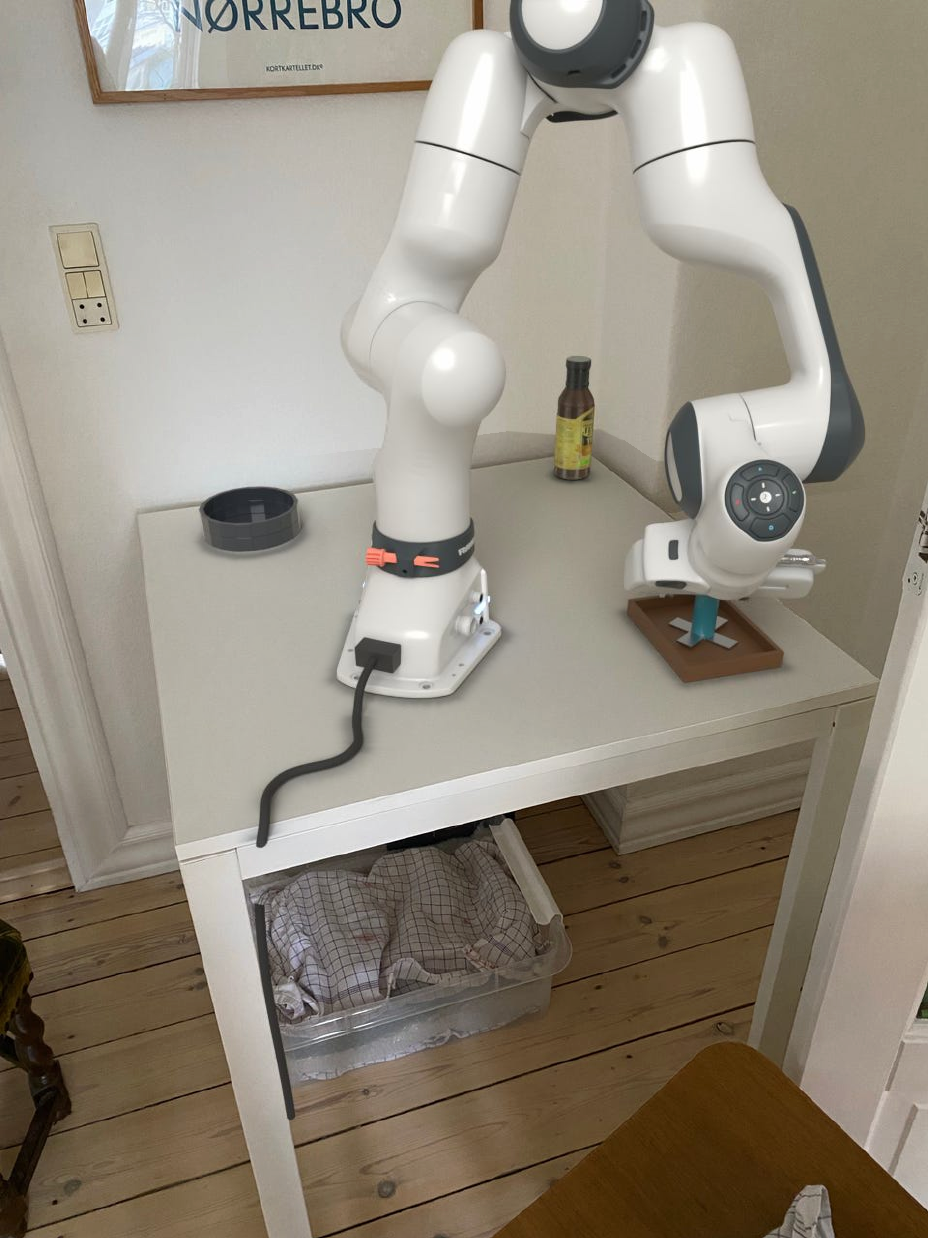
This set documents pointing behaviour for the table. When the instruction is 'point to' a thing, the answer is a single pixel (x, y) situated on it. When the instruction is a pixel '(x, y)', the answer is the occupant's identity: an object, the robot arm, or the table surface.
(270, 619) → the table surface
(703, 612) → the teal rod with crossbar
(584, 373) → the sauce bottle
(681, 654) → the tray
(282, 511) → the bowl
